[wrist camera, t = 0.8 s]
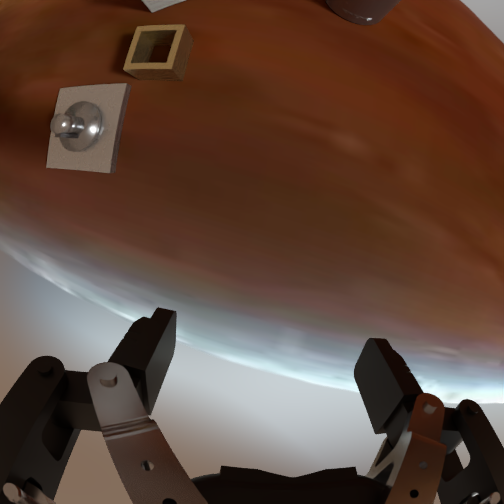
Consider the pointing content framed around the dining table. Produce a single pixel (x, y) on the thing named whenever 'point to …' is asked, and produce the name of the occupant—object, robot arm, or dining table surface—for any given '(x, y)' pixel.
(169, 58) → the box
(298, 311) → the dining table surface
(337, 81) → the dining table surface
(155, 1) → the supplement box
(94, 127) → the shaft stand
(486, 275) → the dining table surface
